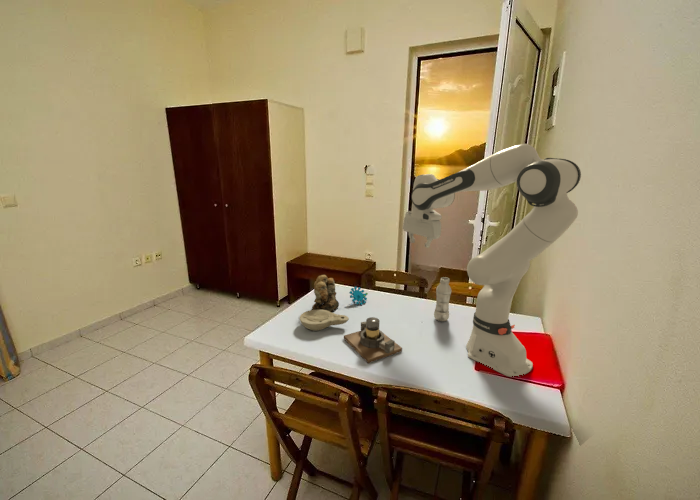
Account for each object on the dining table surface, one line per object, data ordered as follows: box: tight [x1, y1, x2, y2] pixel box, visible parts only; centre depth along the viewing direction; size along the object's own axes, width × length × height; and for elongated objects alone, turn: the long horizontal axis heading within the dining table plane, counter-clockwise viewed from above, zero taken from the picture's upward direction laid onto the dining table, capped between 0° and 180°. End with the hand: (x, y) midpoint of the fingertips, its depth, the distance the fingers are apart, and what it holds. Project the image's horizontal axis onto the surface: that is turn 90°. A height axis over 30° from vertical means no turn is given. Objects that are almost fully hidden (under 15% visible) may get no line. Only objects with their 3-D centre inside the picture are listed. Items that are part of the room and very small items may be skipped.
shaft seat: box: [343, 321, 403, 364], centre depth 118 cm, size 19×15×5 cm
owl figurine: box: [311, 274, 340, 313], centre depth 147 cm, size 18×12×17 cm, turn 160°
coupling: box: [365, 316, 380, 340], centre depth 117 cm, size 5×5×9 cm
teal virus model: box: [349, 286, 369, 306], centre depth 156 cm, size 11×6×10 cm
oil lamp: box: [299, 309, 350, 332], centre depth 131 cm, size 21×14×5 cm
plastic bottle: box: [433, 276, 452, 323], centre depth 136 cm, size 6×7×20 cm
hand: (419, 244), depth 134 cm, fingers open, 8 cm apart
